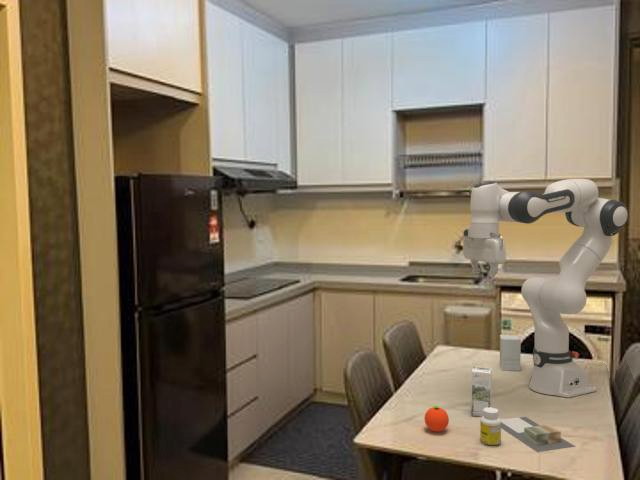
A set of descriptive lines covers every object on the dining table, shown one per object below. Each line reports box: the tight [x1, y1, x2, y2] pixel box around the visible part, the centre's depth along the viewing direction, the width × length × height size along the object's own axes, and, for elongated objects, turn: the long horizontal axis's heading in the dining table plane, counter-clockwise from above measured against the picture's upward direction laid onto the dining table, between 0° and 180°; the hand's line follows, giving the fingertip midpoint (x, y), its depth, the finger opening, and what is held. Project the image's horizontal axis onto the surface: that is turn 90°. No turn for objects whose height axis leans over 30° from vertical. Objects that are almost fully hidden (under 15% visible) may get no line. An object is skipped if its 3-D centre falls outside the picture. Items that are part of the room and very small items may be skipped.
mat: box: [500, 416, 576, 453], centre depth 163 cm, size 12×22×1 cm, turn 16°
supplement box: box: [499, 334, 522, 372], centre depth 227 cm, size 7×7×13 cm
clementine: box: [424, 405, 450, 433], centre depth 167 cm, size 8×7×7 cm
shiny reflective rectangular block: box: [524, 424, 562, 446], centre depth 158 cm, size 8×5×3 cm, turn 106°
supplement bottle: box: [479, 407, 502, 448], centre depth 157 cm, size 5×5×10 cm
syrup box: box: [470, 366, 493, 418], centre depth 178 cm, size 6×6×14 cm
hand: (483, 275), depth 185 cm, fingers open, 8 cm apart
